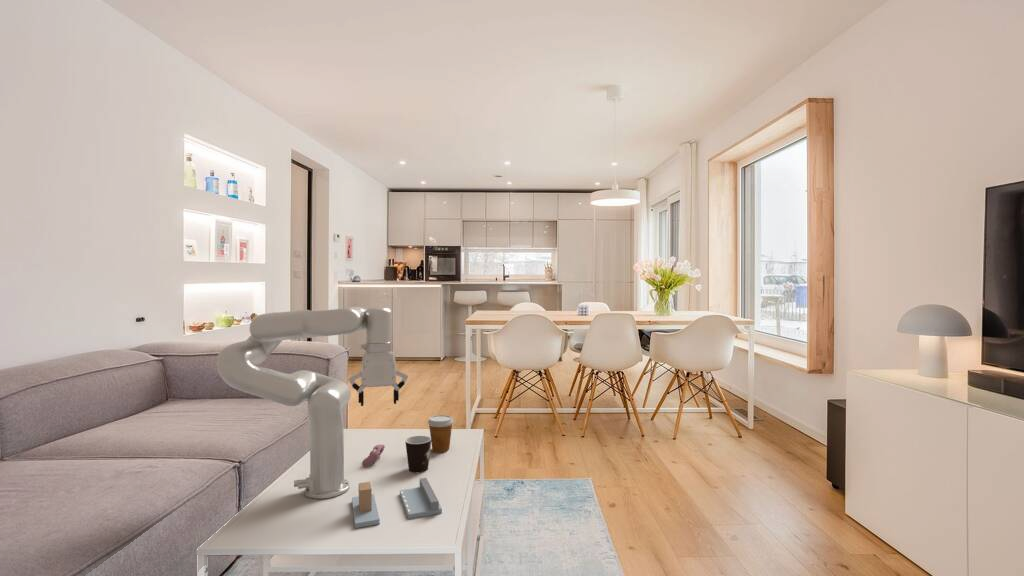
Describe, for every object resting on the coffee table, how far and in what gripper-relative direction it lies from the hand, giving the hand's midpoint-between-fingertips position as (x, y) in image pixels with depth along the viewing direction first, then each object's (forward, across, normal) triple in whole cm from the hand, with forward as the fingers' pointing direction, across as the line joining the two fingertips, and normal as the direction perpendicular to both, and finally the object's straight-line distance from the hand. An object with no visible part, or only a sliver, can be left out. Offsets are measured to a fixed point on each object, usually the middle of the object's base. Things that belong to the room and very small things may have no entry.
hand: (378, 404), depth 146 cm
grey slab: (+26, -4, -15) cm, 30 cm away
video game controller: (+26, -1, +23) cm, 35 cm away
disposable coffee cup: (+26, +23, +29) cm, 45 cm away
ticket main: (+26, +11, -13) cm, 31 cm away
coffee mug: (+26, +14, +13) cm, 32 cm away
